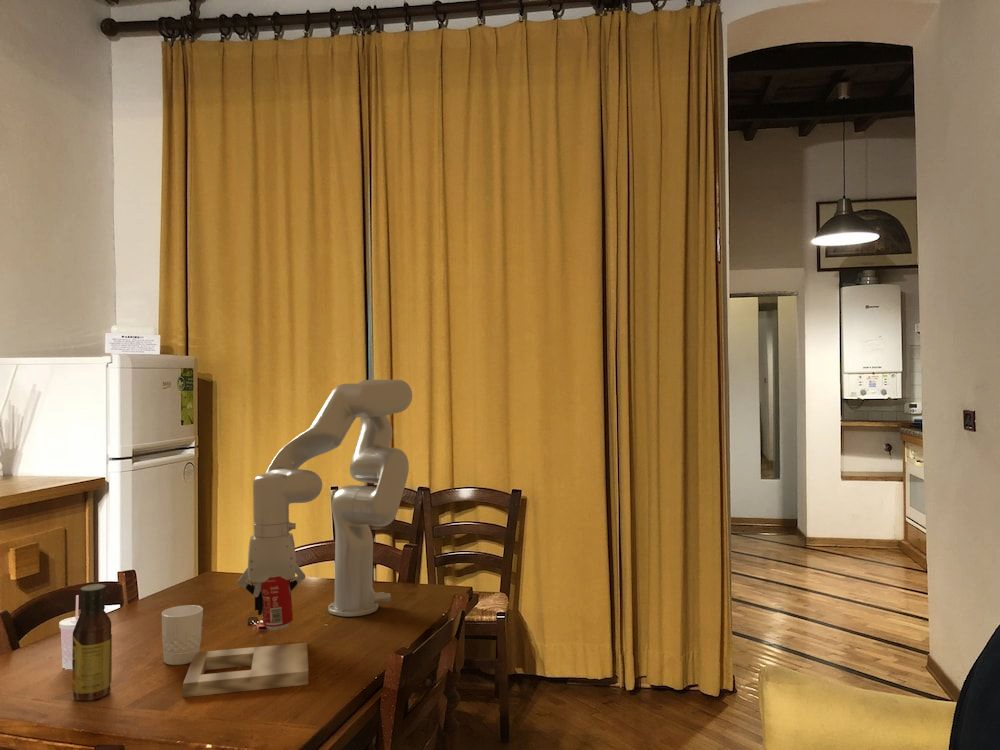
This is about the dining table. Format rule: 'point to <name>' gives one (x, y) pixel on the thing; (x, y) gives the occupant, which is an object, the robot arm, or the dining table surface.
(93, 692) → the sauce bottle
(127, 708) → the dining table surface
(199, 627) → the white cup
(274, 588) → the beverage can
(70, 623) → the beverage cup
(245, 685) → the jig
